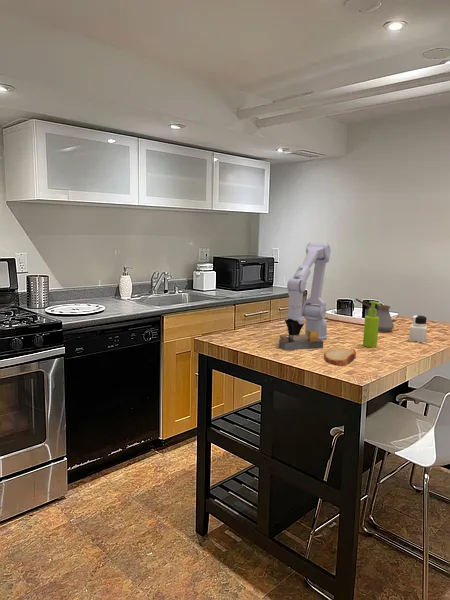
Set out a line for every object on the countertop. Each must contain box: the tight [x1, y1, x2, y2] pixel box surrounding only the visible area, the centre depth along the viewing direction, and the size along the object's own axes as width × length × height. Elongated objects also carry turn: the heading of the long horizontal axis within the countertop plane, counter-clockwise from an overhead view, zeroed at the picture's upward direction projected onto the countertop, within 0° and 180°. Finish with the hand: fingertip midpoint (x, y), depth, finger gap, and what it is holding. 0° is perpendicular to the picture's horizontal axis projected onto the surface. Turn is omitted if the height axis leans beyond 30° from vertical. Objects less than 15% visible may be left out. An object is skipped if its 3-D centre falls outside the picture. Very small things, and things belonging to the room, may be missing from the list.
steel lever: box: [287, 333, 308, 341], centre depth 200 cm, size 9×2×2 cm, turn 107°
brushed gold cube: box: [306, 330, 319, 341], centre depth 202 cm, size 4×4×4 cm
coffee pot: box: [354, 298, 395, 333], centre depth 243 cm, size 21×12×15 cm, turn 53°
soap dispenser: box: [362, 300, 382, 348], centre depth 206 cm, size 6×7×20 cm
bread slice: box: [323, 346, 357, 367], centre depth 186 cm, size 18×18×4 cm
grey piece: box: [278, 334, 324, 351], centre depth 201 cm, size 18×6×5 cm, turn 107°
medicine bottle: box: [408, 314, 428, 343], centre depth 220 cm, size 7×7×12 cm
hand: (293, 337), depth 204 cm, fingers open, 4 cm apart
